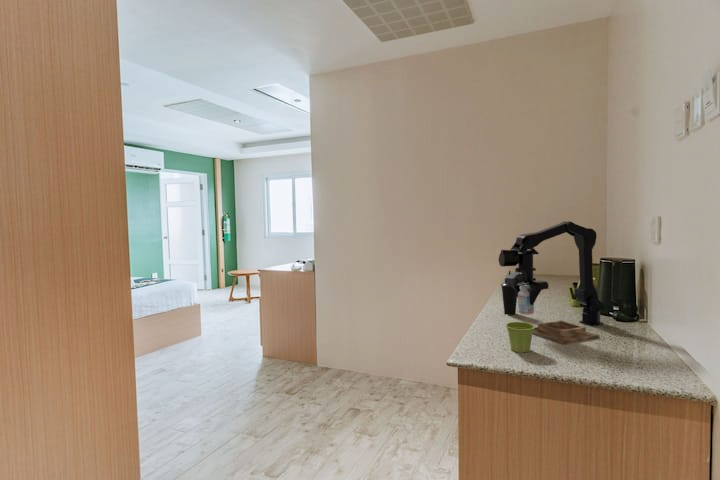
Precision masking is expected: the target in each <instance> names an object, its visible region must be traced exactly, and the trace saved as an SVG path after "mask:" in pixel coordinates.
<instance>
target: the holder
mask: <svg viewBox="0 0 720 480" xmlns="http://www.w3.org/2000/svg"><path fill="white" fill-rule="evenodd" d="M532 335H534V336H537V337H540V338H543V339H545V340H548V341H551V342H554V343H557V344H559V345H567V344H568V345H569V344H574V343H578V342H584V341H590V340H595V339H599V338H600V334H596V333H594V332H590V331H587V329H586V327H585V326H582V325H578V324H575V323H571V322H568V321H564V320H554V321H548V322H542V323H537V326H535V329H534V331H533V333H532Z"/></svg>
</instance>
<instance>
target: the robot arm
mask: <svg viewBox="0 0 720 480" xmlns="http://www.w3.org/2000/svg"><path fill="white" fill-rule="evenodd" d="M565 233H566V234H567V235H570V236H572V237H573V240H574V244H575V246H576V247H577V249H578V267H579V285H578V286H577V287H574V289H573V290H574V298H575V300H576V302H577V303H579V304H578V305H579V307H581V308H582V313H581V314H582V316H581V317H582V318H581V320H580V321H579V323H581V324H585V325H587V326H592V327H593V326H599V325H605V323H604V322H602V321H601V312H604V310H605V307H606V305H605V304H604V303H603V302H601V301H600V300H599V294H598V291H597V289H596V287H595V285H594V269H593V268H594V266H593V249H594V247H595V245H596V243H597V236H598V235H597V232H596V231H595V230H594V229H593V228H590V227H589V228H588V227H584V226H581V225H579V224H576V223H574V222H573V221H568V220H567V221H565V220H564V221H562V222H560V223H557V224H555V225H553V226H549V227H546V228H544V229H542V230H539V231H536V232H528V233H523V234H519V235H517V237H516V239H515V243H514V244H513V245H512V247H511V248H510V249H501V250H500V254H499V257H498V264H499V266H500V267H515V266H517V267H515V271H514V272H512V273H510V275H509V274H508V275H506V276H505V278H504V283H507V284H509V285H510V284H511V285H510V286H511V287H512V288H514V290H515V292H516V295H517V299H518V292H519V291H520V286H521V285H529V286H530V288H529V289H527V290H528V291H529V294H530V305H533V304H534V305H535V302H536V301H537V298H538V296H539V295H540V294H541V292H542V291H543V290H549V283H548V282H547V281H544V280H537V279H536V277H534V271H537V270H536V269H537V268H536V267H534V255H539V254H540V253H539V252H538V251H537V250H536V249H535V248H536V247H538V246H539V245H540V244H541V243H543V242H544V241H547V240H550V239H552V238H555V237H557V236H558V237H559V236H560V235H563V234H565Z"/></svg>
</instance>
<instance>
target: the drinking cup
mask: <svg viewBox="0 0 720 480" xmlns="http://www.w3.org/2000/svg"><path fill="white" fill-rule="evenodd" d="M510 274H511V270H508V275H510ZM510 285H511V284H510ZM510 285H509V284H507V283H505V282H503V283H501V284H500V286H501V290H502V291H501V294H502V302H503V313H504V315H506V314H507V316H515V315H516V313H517V312H516V311H517V304H518V298H517V295H516V292H515V290H514V288H512V287H511V286H510Z"/></svg>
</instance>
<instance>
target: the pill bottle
mask: <svg viewBox="0 0 720 480" xmlns="http://www.w3.org/2000/svg"><path fill="white" fill-rule="evenodd" d="M529 288H530V286H529V285H521V286H520V291H519V292H518V298H517V310H518V313H519V314H520V315H529V316H531V315H534V313H535V303H534V304H533V305H530V294H529V291H528V290H527V289H529Z"/></svg>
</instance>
